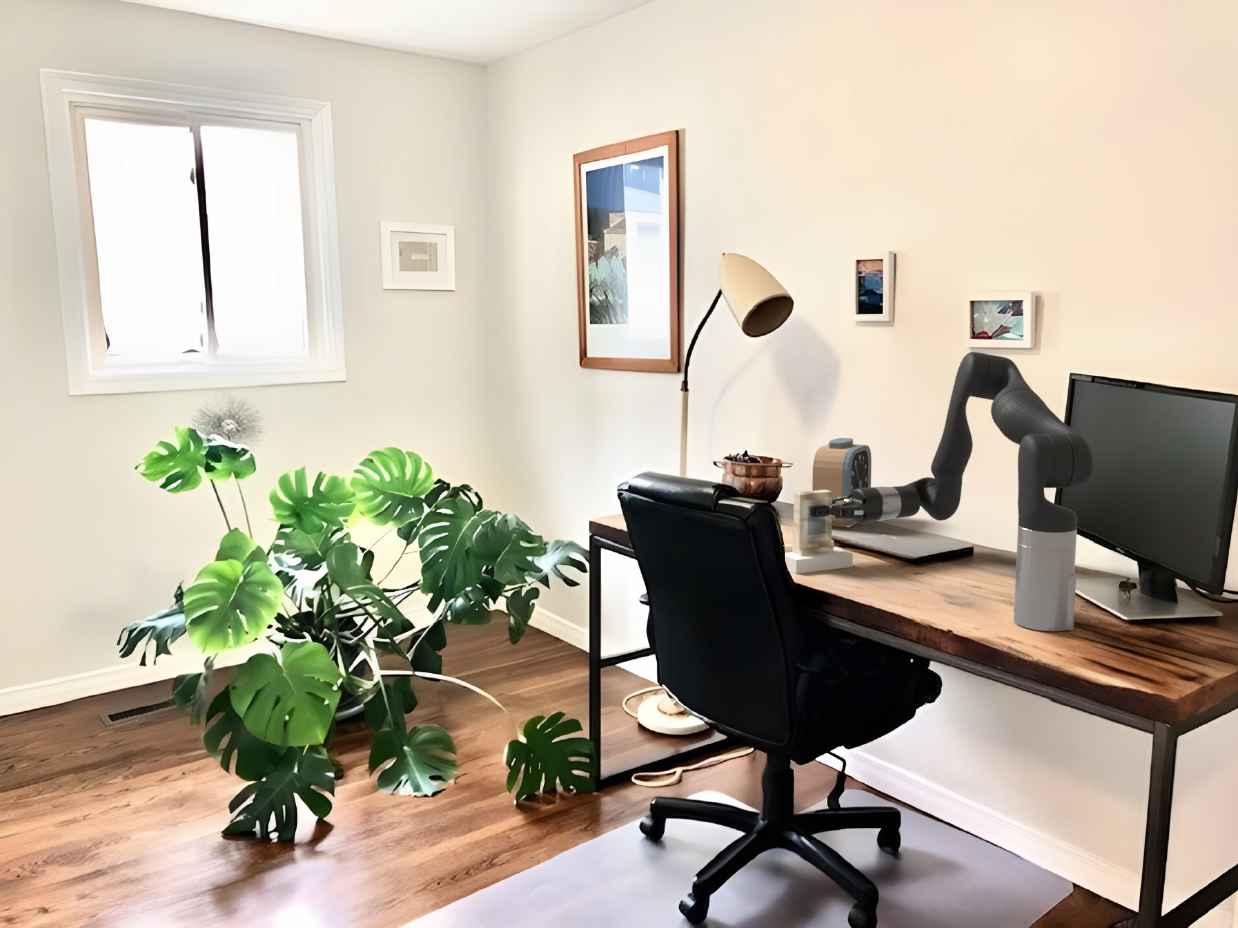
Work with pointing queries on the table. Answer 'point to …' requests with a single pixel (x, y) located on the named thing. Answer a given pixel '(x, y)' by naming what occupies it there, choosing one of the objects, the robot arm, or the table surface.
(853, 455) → the alarm clock
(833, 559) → the white rectangular block
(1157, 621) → the table surface
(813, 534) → the frame
